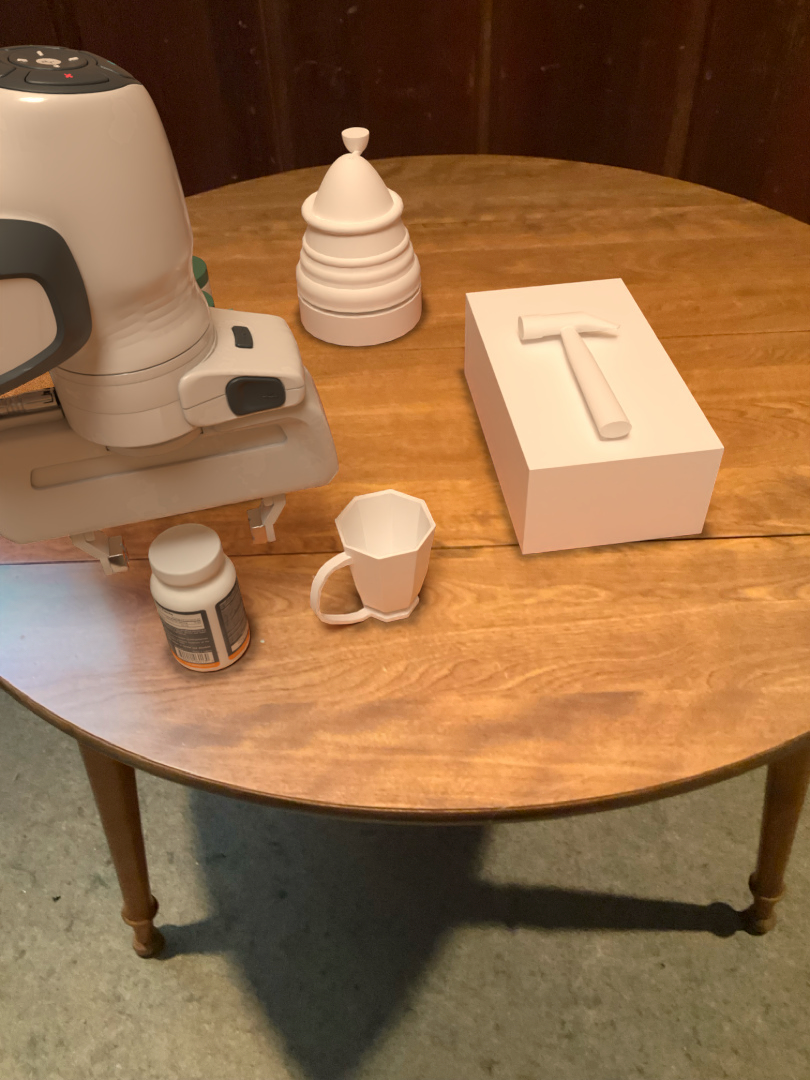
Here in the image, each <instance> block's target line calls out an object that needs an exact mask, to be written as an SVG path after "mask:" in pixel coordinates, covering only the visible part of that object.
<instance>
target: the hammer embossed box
mask: <svg viewBox="0 0 810 1080" xmlns="http://www.w3.org/2000/svg"><path fill="white" fill-rule="evenodd" d="M464 308H465V312H464V313H465V314H464V318H465V319H464V359H463V361H464V363H463V364H464V365H463V366H464V367H463V373H464V377H465V380H466V383H467V386H468V389H469V393H470V396H471V399H472V401H473V405H474V409H475V410H476V411H475V412H476V414H477V417H478V420H479V424H480V427H481V429H482V430H481V431H482V433H483V437H484V439H485V442H486V446H487V449H488V452H489V455H490V459H491V462H492V464H493V468H494V471H495V474H496V478H497V479H498V483H499V486H500V489H501V493H502V496H503V498H504V502H505V506H506V508H507V511H508V514H509V518H510V521H511V524H512V527H513V530H514V533H515V536H516V540H517V543H518V546H519V550H520V553H521V555H532V554H539V553H541V554H542V553H547V552H555V551H565V550H573V549H583V548H589V547H599V546H606V545H614V544H615V545H616V544H622V543H623V544H624V543H632V542H640V541H648V540H649V541H650V540H657V539H665V538H673V537H681V536H689V535H690V536H691V535H699V534H702V533H703V528H704V526H705V525H704V524H705V522H706V517H707V514H708V510H709V506H710V503H711V499H712V495H713V492H714V489H715V485H716V481H717V478H718V474H719V471H720V466H721V463H722V459H723V456H724V452H725V447H724V445H723V443H722V441H721V440H720V438H719V436H718V435H717V433H716V432H715V429H713V427H712V425H711V424H710V422H709V420H708V418H707V417H706V415H705V414H704V412H703V410H702V408H701V407H700V405H699V403H698V402H697V400H696V399H695V397H694V396H693V394H692V392H691V390H690V389H689V387H688V386H687V384H686V382H685V380H684V379H683V378H682V376H681V374H680V372H679V371H678V369H677V367H676V366H675V364H674V363H673V361H672V359H671V358H670V355H668V353H667V351H666V350H665V348H664V347H663V345H662V343H661V341H660V340H659V338H658V336H657V334H656V333H655V332H654V330H653V328H652V326H651V325H650V323H649V322H648V320H647V318H646V317H645V315H644V314H643V311H642V310H641V309H640V307H639V305H638V304H637V302H636V301H635V299H634V297H633V295H632V294H631V292H630V291H629V289H628V287H627V285H626V284H625V282H624V281H623V278H621V277H618V278H617V277H616V278H608V279H595V280H587V281H575V282H566V283H556V284H545V285H537V286H536V285H535V286H524V287H514V288H504V289H493V290H483V291H475V292H465V307H464Z"/></svg>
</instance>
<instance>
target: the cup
mask: <svg viewBox="0 0 810 1080" xmlns="http://www.w3.org/2000/svg"><path fill="white" fill-rule="evenodd" d="M334 523H335V526H336V527H335V528H336V529H337V534H338V536H339V539H340V543H341V546H342V548H343V552H340V553H338V554H336V555H334V556H333V557H332V558H330V559H328V560H327V561H326V562H324V564H323V565H322V566H321V567H319V569H318V571H317V572H316V575H315V577H314V578H313V580H312V582H311V587H310V593H309V607H310V610H311V611H312V613H314V616H316V617H317V618H318V620H320V622H323V623H326V624H329V625H350V624H351V625H352V624H357V623H360V622H364V621H366V620H367V619H369V618H374V619H376V620H379V621H381V622H384V623H389V622H394V621H398V620H399V621H400V620H402V619H407V618H409V617H410V615H411V614H412V613H413V612H414V610H415V608H416V607H417V606H418V604H419V603H420V598H419V596H418V595H419V594H420V592H421V589H422V587H423V585H424V581H425V578H426V576H427V573H428V568H429V563H430V558H431V553H432V548H433V543H434V537H435V533H436V527H437V524H436V522H435V520H434V518H433V515H432V514H431V511H430V508H429V507H428V505H427V503H426V500H425V499H422V498H419V497H416V496H413V495H411V494H407V493H405V492H402V491H399V490H396V489H393V488H388V489H382V490H379V491H374V492H371V493H365V494H361V495H360V494H359V495H355V496H353V498H352V499H350V501H349V502H348V503H347V504H346V506H345V507H344V508H343V509H342V510H341V512H340V513H339V514H338V515H337V517H336V518H335V519H334ZM347 566H348V568H349V571H350V574H351V577H352V579H353V582H354V585H355V588H356V591H357V593H358V595H359V597H360V601H361V603H362V607H363V608H361V609H359V610H358V611H354V612H350V613H345V614H330V613H329V614H328V613H323V612H321V597H322V590H323V588H324V586H325V584H326V583H327V581H328V579H329V578H330V576H331V575H332V574H333V573H334V572H335V571H337V570H340V569H342V568H344V567H347Z"/></svg>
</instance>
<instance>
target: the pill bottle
mask: <svg viewBox="0 0 810 1080" xmlns="http://www.w3.org/2000/svg"><path fill="white" fill-rule="evenodd" d="M147 554H148V556H147V558H148V562H149V566H150V568H151V575H150V580H149V590H150V594H151V596H152V599H153V602H154V605H155V607H156V608H155V609H156V610H157V613H158V616H159V619H160V622H161V625H162V628H163V630H164V633H165V637H166V640H167V643H168V645H169V649H170V651H171V653H172V655H173V657H174V659H175V660H176V661H177V662H178V663H179V664H180V665H182V666H183V667H184V668H187V669H189V670H192V671H195V672H203V673H204V672H206V673H207V672H213V671H214V672H215V671H219V670H221V669H225V668H227V667H229V666H230V665H232V664H233V663H235V662H236V661H238V659H240V658H241V657H242V656H243V654H244V653H245V651H246V650H247V648H248V647H249V643H250V639H251V633H250V632H251V631H250V625H249V620H248V617H247V612H246V608H245V604H244V600H243V595H242V591H241V587H240V583H239V578H238V574H237V571H236V567H235V565H234V563H233V562H232V559H231V558H230V557H229V556H228V555H227V554H226V553H224V548H223V545H222V541H221V538H220V536H219V534H218V533H217V532H216V531H215V530H214V529H212V528H211V527H209V526H207V525H205V524H201V523H195V522H193V523H192V522H191V523H189V522H188V523H182V524H181V523H180V524H176V525H174V526H171V527H169V528H167V529H165V530H164V531H162V532H161V533H159V534H158V535H157V536H156V537H155V538H154V539H153V541H152V542H151V543H150V546H149V548H148V552H147Z"/></svg>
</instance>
